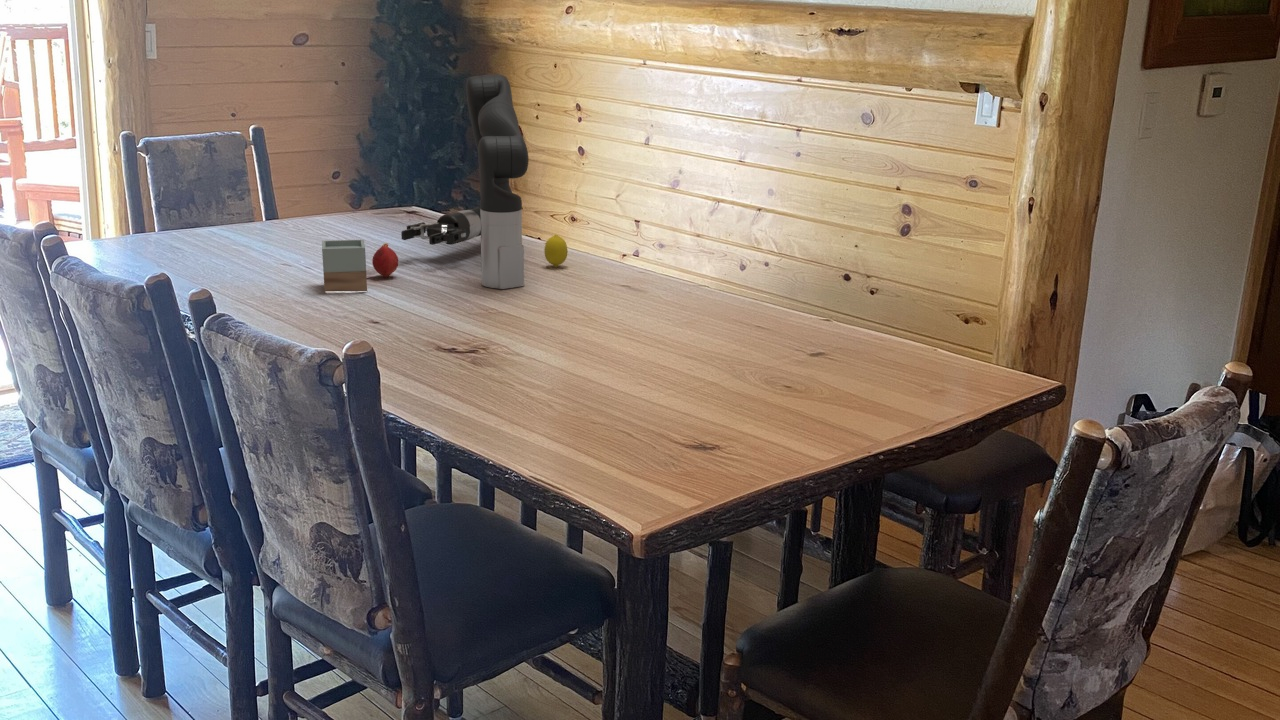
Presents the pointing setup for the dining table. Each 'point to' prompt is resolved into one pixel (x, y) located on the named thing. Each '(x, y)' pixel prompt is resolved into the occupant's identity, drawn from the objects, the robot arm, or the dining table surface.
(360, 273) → the tower base
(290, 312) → the dining table surface
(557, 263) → the lemon
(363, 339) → the dining table surface
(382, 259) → the onion
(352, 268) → the tower top
